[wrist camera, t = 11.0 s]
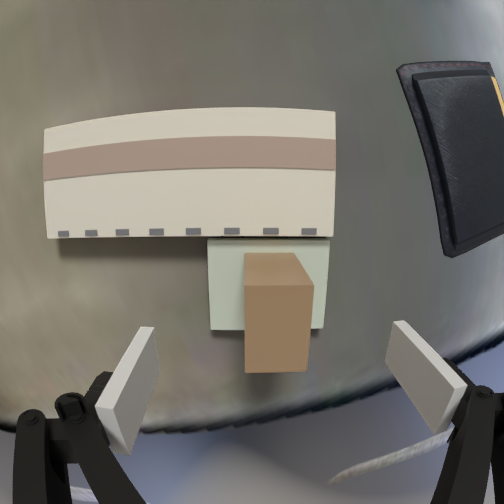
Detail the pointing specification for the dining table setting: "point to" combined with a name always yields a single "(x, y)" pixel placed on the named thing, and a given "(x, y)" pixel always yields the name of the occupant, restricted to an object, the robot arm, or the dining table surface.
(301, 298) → the stub
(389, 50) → the dining table surface
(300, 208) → the pad
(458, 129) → the wallet
